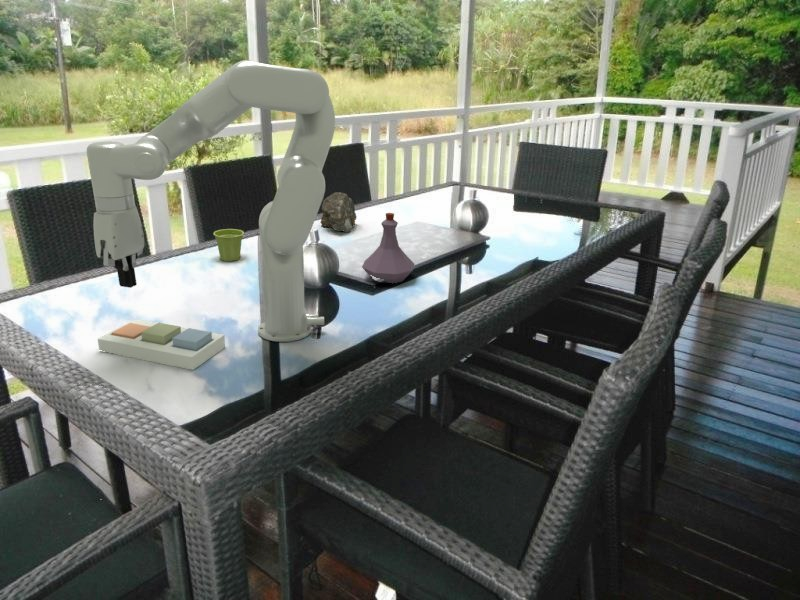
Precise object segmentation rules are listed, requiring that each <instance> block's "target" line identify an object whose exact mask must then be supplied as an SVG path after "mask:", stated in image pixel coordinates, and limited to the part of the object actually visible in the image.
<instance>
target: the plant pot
mask: <svg viewBox="0 0 800 600" xmlns="http://www.w3.org/2000/svg"><path fill="white" fill-rule="evenodd" d="M244 233H245V232H244V230H242V229H235V228H225V229H218V230H215V231H213V236H214V238H215V241H216V242H217V249H218V254H219V259H220V260H222V261H223V260H224V262H232V261H238V260H240V259H241V249H242V240H243V236H244Z"/></svg>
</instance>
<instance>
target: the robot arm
mask: <svg viewBox="0 0 800 600" xmlns="http://www.w3.org/2000/svg"><path fill="white" fill-rule="evenodd" d="M329 88H330V87H329V85H328V83H327V81H326V79H325V78H324V77H323V75H321V74H320V73H319V72H317V71H314V70H311V69H309V68H308V69H307V68H296V67H288V66H281V65H274V64H268V63H267V64H266V63H261V62H257V61H253V60H250V59H249V60H248V59H244V60H240V61H238V62H236V63H234V64H233V65H231V66H230V67H229V68H228V69H226V70H224V72H222V73H221V74H220V75H218V76H217V77H216V78H215V79H214V80H212V81H211V82H210V83H208V84H207V85H206V86H204V87H203V88H202V89H200V90H199V91H198V92H196V93H195V94H194V95H192V96H190V98H189V99H187V100H186V101H185V102H183V103H182V104H181V105H180V106H179V108H177V110H176V111H174V112H173V113H171V115H170V116H168V117H167V118H165V120H162V122H161V123H159V124H158V125H157V126H155V127H154V128H152V129H151V130H150V131H149V132H148V133H146V134H145V135H143V136H141V138H139V139H138V140H137V141H136V142H135V143H132V144H123V143H122V142H120V141H112V140H111V141H108V140H107V141H96V142H92V143H90V144H88V146H87V147H86V157H87V164H88V168H89V169H88V170H89V174H90V181H91V186H92V192H93V199H94V204H95V209H96V212H93V225H92V226H93V239H94V247H95V253H96V256H97V258H98V259H103V267H113V268H114V270H116V271H117V277H118V283H119V286H120V287H123V288H129V289H130V288H133V287H136V286H137V278H136V277H137V276H136V271H135V268H136V266H137V259H138V258H139V256H140V255H142V254H143V253H144V250H143V249H144V248H145V236H144V235H145V234H144V230H143V225H142V222H141V218H140V214H139V211H138V207H137V206H136V202H135V194H134V187H133V183H132V179H133V180H141V181H142V180H143V181H152V180H155V179H158V178H160V177H161V176H162V175H163V174H164V173H165V171H166V169H167V166H168V165H170V164H171V163H172V162H174V160H176V159H178V158H179V156H181V155H183V154H184V153H185V152H186V151H188V150H189V149H190V148H191V147H193V146H195V145H197V144H199V143H200V142H202V141H204V140H208V139H211V138H212V137H214V136H216V135H218V134H219V133H220V132H221V131H223V130H224V129H226V127H229V125H231V124H232V123H233V122H234V121H236V120H237V119H238V118H240V117H241V116H242V115H243V114H245V113H246V112H248V111H249V110H250V109H251V108H256V109H262V110H268V111H275V112H284V113H285V112H286V113H293V114H294V113H295V124H294V128H293V131H292V134H291V138H290V140H289V143H288V146H287V148H286V151H285V153H284V157H283V159H282V162H281V164H280V166H279V169H278V171H277V174H276V182H277V185H278V187H277V189H276V192H275V196H274V198H273V200H272V201H269V202H268V203H267V204H266V205H264V207H262V210H261V212H260V214H259V219H258V229H259V231H258V232H259V244H260V256H261V278H262V298H263V299H262V300H263V302H262V303H263V322H262V323H260V324H259V325H258V328H257V331H258V336H259V337H261V338H262V339H265V340H267V341H270V342H271V341H272V342H277V343H278V342H280V343H281V342H282V343H283V342H293V341H298V340H302V339H303V338H307V336H309V335H310V334H311V332H312V326H314V325H315V326H316V325H317V326H321V325H325V316H319V314H318V313H313V314H309V313H307V311H306V308H305V280H304V279H305V274H304V273H305V271H304V270H305V268H304V267H305V265H304V262H305V260H304V259H305V258H304V245H305V243H306V241H307V240H308V237H309V235H310V233H311V231H312V228H313V225H314V223H315V221H316V218H317V216H318V212H319V211H320V207H321V206H322V204H323V203H322V202H323V200H324V196H325V192H326V180H325V176H324V174H323V168H324V165H325V164H326V163H325V162H326V160H327V157H328V154H329V152H330V148H331V145H332V142H333V138H334V134H335V129H336V115H335V110H334V109H335V108H334V105H333V102H332V99H331V96H330V89H329Z"/></svg>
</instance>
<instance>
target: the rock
mask: <svg viewBox="0 0 800 600" xmlns="http://www.w3.org/2000/svg"><path fill="white" fill-rule="evenodd" d="M322 202H323V203H321V210H322V216H321V219H320V224H321V226H322V227H325V228H332V229H333V230H334V231H337V232H339V231H340V232H342V231H343V232H346V233H347V232H350V231H351V230H352V229H353V227H354V226H356V220H357V219H358V218H357V214H356V211H355V210H356V207H355V204H354V202H353V199H352V198H350V197H349V195H348V194H347V193H345V192H337V191H336V192H333V193H331V194H330V195H328V196H327V197H326V198H324V199H323V200H322Z"/></svg>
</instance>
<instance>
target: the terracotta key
mask: <svg viewBox="0 0 800 600" xmlns="http://www.w3.org/2000/svg"><path fill="white" fill-rule="evenodd" d="M128 323H129V322H128ZM126 324H127V323H126ZM124 325H125V324H124ZM122 326H123V325H122ZM120 327H121V326H120ZM118 328H119V327H118ZM148 328H150V327H149V326H144V325H139V324H133V323H129V324H127V325H125V326H123V327H121V328H119V329H117V328H116V329H117V330H115V329H114V330H115V331H114V332H112V335H114V336H120V337H125V338H130V339H135V338H137V337H139V336H141V332H143V331H144V330H146V329H148Z"/></svg>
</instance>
